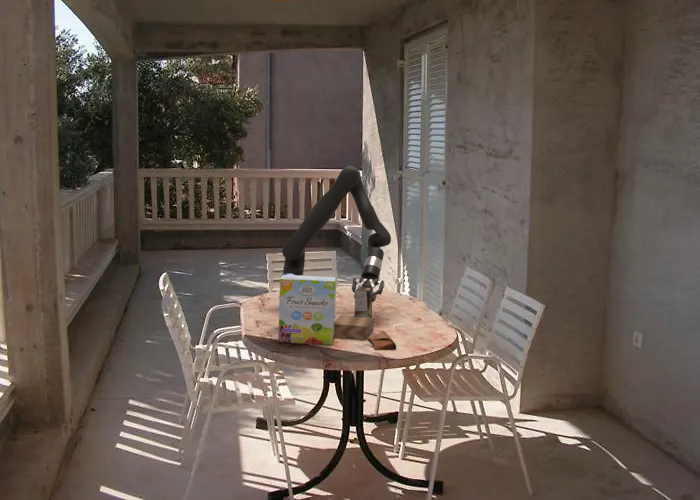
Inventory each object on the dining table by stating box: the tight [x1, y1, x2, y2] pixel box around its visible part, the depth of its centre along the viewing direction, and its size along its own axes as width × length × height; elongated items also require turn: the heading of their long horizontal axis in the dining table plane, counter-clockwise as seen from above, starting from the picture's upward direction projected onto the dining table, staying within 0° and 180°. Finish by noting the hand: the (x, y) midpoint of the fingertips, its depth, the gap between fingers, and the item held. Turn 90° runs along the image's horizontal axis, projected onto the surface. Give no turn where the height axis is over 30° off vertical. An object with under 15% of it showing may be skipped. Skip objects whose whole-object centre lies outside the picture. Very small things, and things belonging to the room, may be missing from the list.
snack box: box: [277, 275, 337, 346], centre depth 309 cm, size 22×9×26 cm, turn 88°
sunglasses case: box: [366, 330, 397, 351], centre depth 310 cm, size 18×7×7 cm
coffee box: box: [353, 287, 374, 318], centre depth 338 cm, size 9×6×16 cm
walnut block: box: [334, 315, 375, 341], centre depth 325 cm, size 14×16×6 cm
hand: (364, 300), depth 339 cm, fingers closed on coffee box, 6 cm apart
